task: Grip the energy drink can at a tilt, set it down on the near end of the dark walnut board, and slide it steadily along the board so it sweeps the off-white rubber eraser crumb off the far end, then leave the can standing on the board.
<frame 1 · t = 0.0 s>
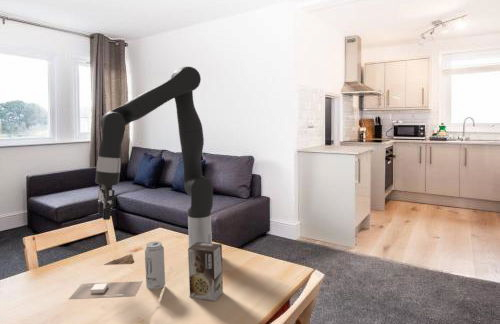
hand: (104, 216, 119), 22 cm above the table, tool pointing down, fingers open, 8 cm apart
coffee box: (206, 295, 110), on the table
eraser crumb: (99, 290, 111), point 1 cm above the table, touching walnut board
wooden fragment: (114, 268, 131), on the table
energy drink can: (155, 288, 114), on the table
walnut board: (107, 292, 111), on the table
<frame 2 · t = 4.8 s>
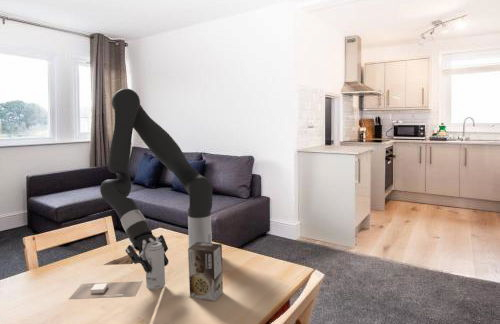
hand: (158, 268, 113), 7 cm above the table, tool tilted 45°, fingers closed on energy drink can, 6 cm apart
energy drink can: (156, 288, 115), on the table, touching gripper
everything else where it was.
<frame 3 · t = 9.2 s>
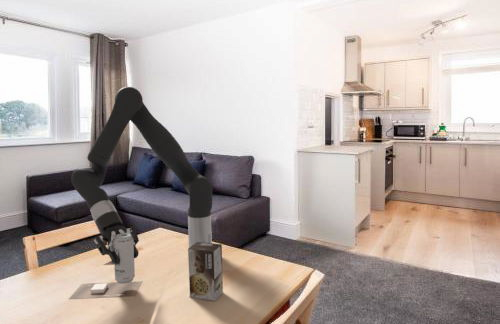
hand: (127, 259, 109), 11 cm above the table, tool tilted 45°, fingers closed on energy drink can, 6 cm apart
energy drink can: (125, 280, 111), point 4 cm above the table, touching gripper
everything else where it was.
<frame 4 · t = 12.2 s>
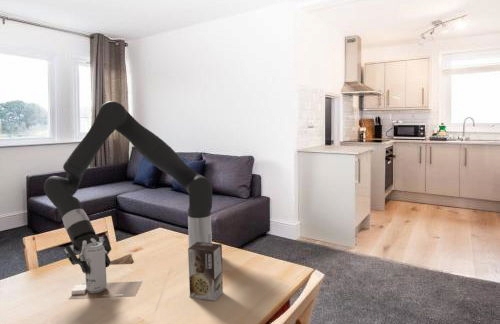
hand: (98, 269, 109), 9 cm above the table, tool tilted 45°, fingers closed on energy drink can, 6 cm apart
eraser crumb: (80, 290, 111), point 1 cm above the table
energy drink can: (96, 289, 111), point 1 cm above the table, touching gripper
everything else where it was.
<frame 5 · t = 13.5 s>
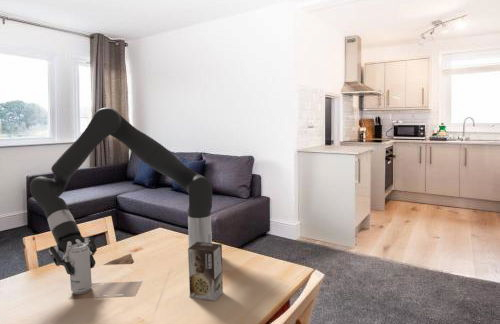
hand: (83, 270, 109), 8 cm above the table, tool tilted 45°, fingers closed on energy drink can, 6 cm apart
eraser crumb: (67, 296, 110), on the table
energy drink can: (81, 290, 111), point 1 cm above the table, touching gripper
everything else where it was.
when the fingers open (8 cm above the table, at t = 14.0 s): energy drink can stays where it is, resting on walnut board.
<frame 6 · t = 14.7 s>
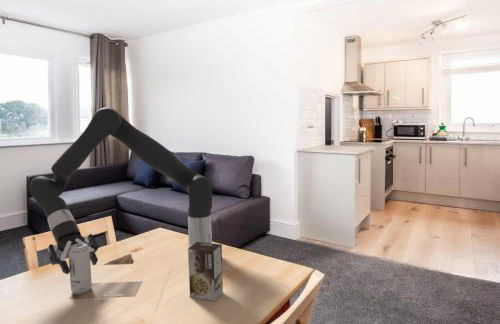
hand: (82, 268, 109), 9 cm above the table, tool tilted 45°, fingers open, 8 cm apart
energy drink can: (81, 291, 111), point 1 cm above the table, touching walnut board
everything else where it was.
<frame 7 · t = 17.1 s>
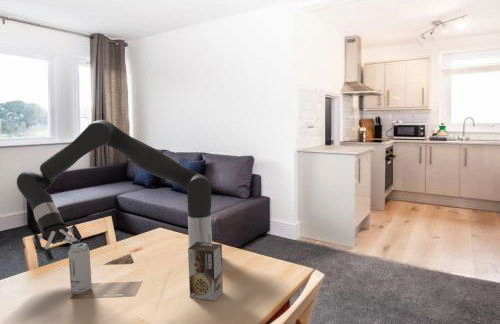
hand: (65, 256, 117), 9 cm above the table, tool tilted 45°, fingers open, 8 cm apart
nothing on the table moved.
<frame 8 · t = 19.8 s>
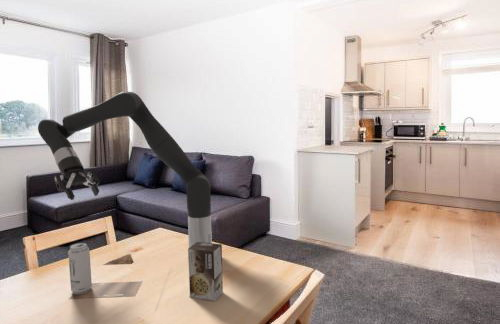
hand: (85, 196, 122), 29 cm above the table, tool tilted 45°, fingers open, 8 cm apart
nothing on the table moved.
at the end: eraser crumb on the table; energy drink can inside the target area (1.1 cm from its centre), point 0.8 cm above the table; energy drink can tilted 0° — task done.
